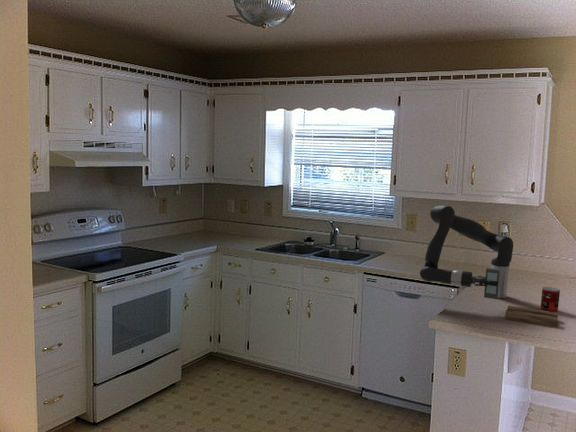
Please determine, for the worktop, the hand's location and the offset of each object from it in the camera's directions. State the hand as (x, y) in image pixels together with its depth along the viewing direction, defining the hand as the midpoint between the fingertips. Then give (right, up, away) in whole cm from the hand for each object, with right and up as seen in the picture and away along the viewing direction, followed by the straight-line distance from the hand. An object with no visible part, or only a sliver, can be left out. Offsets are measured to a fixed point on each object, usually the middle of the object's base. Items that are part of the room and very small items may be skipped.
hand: (498, 283), depth 275 cm
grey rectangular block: (-3, -7, +2) cm, 8 cm away
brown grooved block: (+13, -16, -7) cm, 22 cm away
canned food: (+30, -15, +12) cm, 36 cm away
